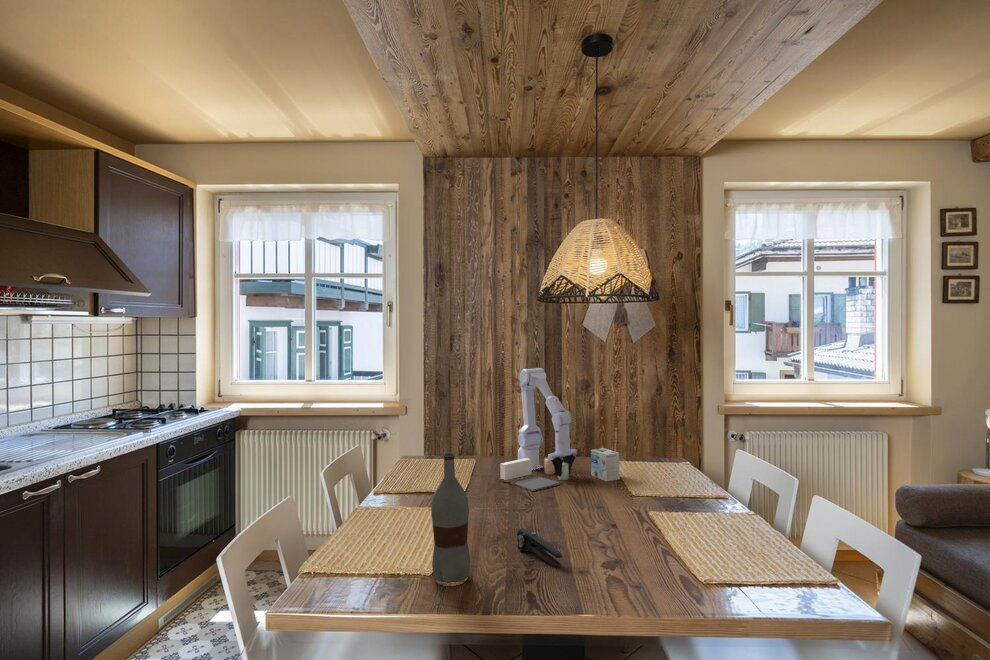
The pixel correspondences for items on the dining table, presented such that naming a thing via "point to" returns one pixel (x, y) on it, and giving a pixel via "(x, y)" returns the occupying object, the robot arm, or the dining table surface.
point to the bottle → (450, 527)
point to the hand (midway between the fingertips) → (563, 474)
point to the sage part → (564, 472)
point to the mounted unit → (515, 469)
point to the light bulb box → (605, 464)
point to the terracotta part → (549, 466)
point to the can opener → (537, 546)
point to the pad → (536, 483)
